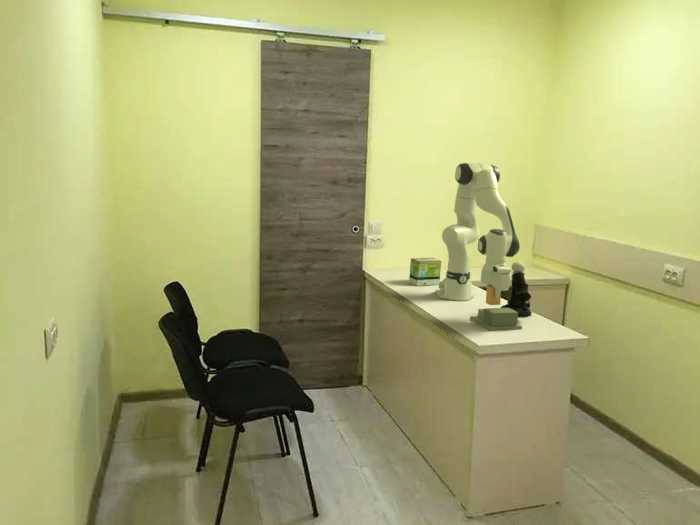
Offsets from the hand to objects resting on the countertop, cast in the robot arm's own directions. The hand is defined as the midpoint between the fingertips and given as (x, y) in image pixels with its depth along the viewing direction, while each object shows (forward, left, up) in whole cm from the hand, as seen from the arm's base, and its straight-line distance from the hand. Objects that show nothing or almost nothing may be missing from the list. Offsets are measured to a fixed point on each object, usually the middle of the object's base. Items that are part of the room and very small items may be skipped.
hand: (493, 296), depth 264 cm
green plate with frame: (+4, 0, -12) cm, 12 cm away
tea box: (-78, -2, -12) cm, 79 cm away
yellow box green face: (0, 0, -4) cm, 4 cm away
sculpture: (-8, +17, -12) cm, 22 cm away
